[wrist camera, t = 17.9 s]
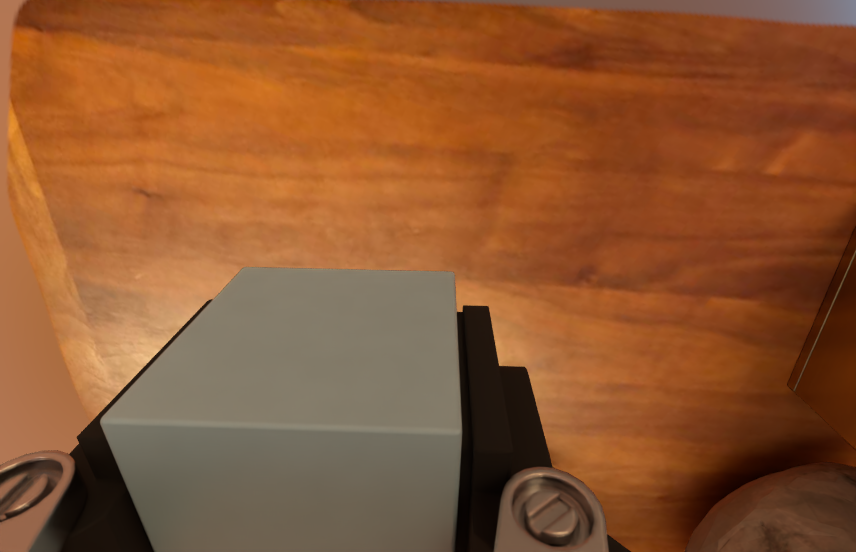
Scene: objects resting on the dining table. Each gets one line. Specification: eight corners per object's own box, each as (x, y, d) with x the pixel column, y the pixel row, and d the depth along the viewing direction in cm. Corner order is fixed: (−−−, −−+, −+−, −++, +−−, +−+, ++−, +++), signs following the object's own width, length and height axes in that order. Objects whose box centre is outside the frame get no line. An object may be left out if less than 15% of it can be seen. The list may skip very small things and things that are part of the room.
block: (243, 265, 9) (95, 420, 5) (454, 270, 9) (462, 431, 5) (273, 424, 11) (181, 623, 7) (448, 430, 11) (451, 635, 7)
